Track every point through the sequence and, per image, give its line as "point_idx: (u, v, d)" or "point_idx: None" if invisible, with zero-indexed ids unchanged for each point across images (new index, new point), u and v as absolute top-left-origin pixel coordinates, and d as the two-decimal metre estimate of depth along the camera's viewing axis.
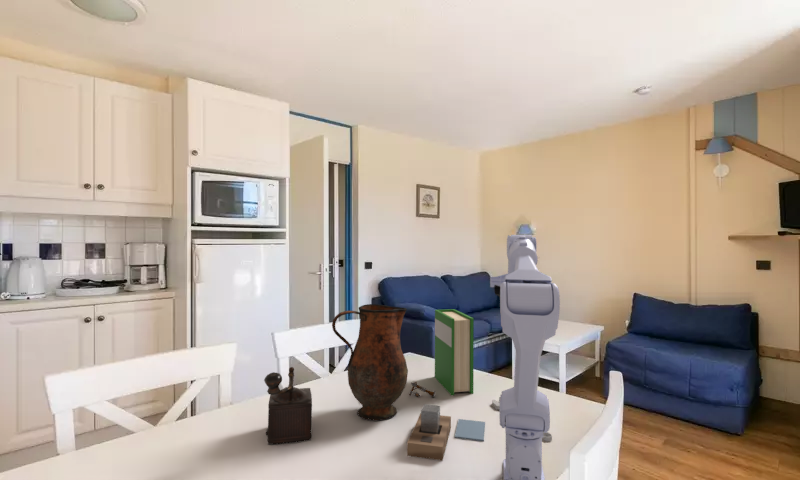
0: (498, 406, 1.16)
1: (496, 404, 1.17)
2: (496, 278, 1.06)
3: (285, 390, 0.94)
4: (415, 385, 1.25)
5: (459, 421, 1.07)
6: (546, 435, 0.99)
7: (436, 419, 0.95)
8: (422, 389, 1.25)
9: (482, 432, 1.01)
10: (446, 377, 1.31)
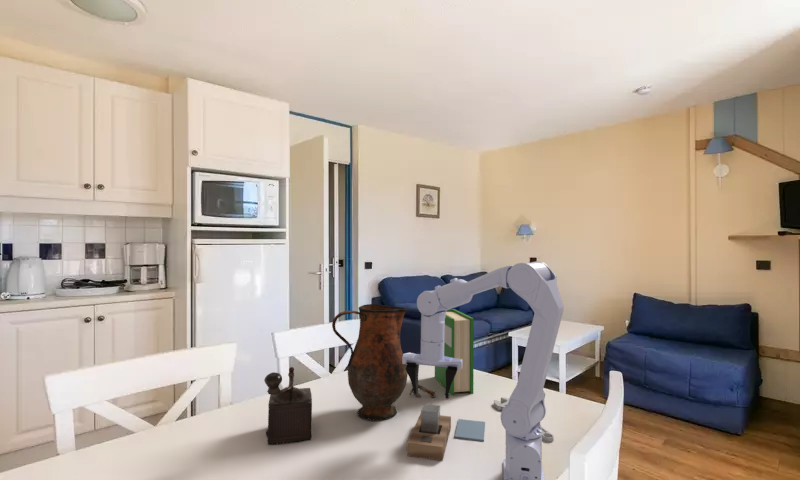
0: (499, 406, 1.15)
1: (497, 404, 1.16)
2: (410, 356, 1.00)
3: (285, 390, 0.94)
4: None
5: (459, 421, 1.07)
6: (547, 436, 0.99)
7: (436, 419, 0.95)
8: (422, 389, 1.25)
9: (482, 432, 1.01)
10: None
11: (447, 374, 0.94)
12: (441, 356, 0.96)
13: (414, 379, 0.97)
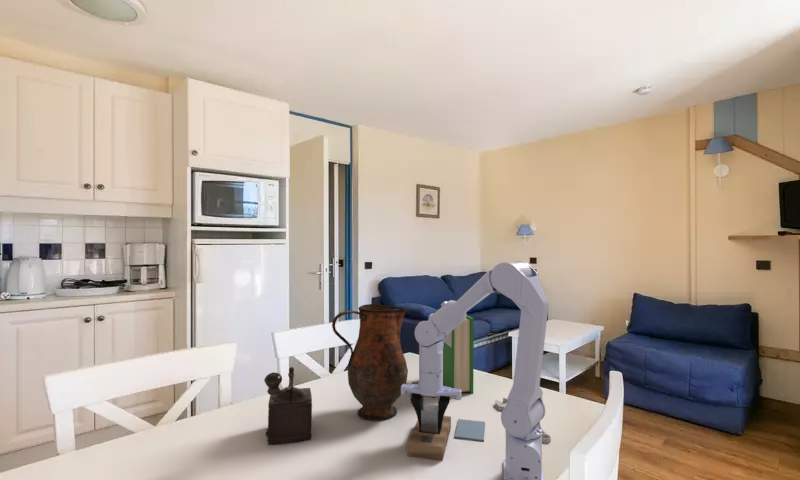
0: (500, 406, 1.15)
1: (498, 404, 1.16)
2: None
3: (285, 390, 0.94)
4: None
5: (459, 421, 1.07)
6: (545, 437, 0.99)
7: (436, 419, 0.95)
8: None
9: (482, 432, 1.01)
10: (446, 377, 1.31)
11: (439, 405, 0.94)
12: (440, 386, 0.95)
13: (419, 411, 0.96)
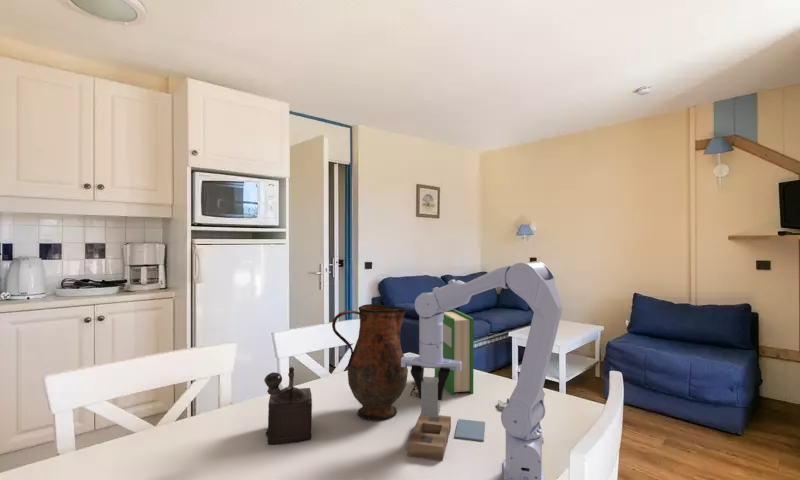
0: (501, 406, 1.15)
1: (500, 404, 1.16)
2: None
3: (285, 390, 0.94)
4: None
5: (459, 421, 1.07)
6: None
7: (436, 390, 0.95)
8: None
9: (482, 432, 1.01)
10: None
11: (440, 376, 0.94)
12: (440, 358, 0.95)
13: (419, 382, 0.96)
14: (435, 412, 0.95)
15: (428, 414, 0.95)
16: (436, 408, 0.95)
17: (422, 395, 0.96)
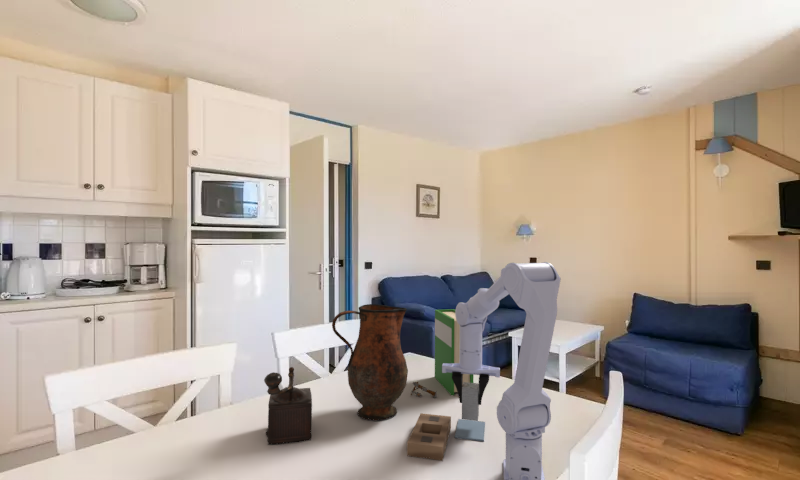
0: None
1: None
2: None
3: (285, 390, 0.94)
4: (416, 385, 1.25)
5: (459, 421, 1.07)
6: None
7: (476, 395, 1.01)
8: (423, 389, 1.25)
9: (482, 432, 1.01)
10: (446, 377, 1.31)
11: (480, 381, 1.00)
12: (480, 364, 1.01)
13: (460, 388, 1.02)
14: (475, 416, 1.01)
15: (468, 418, 1.01)
16: (476, 412, 1.01)
17: (463, 400, 1.01)
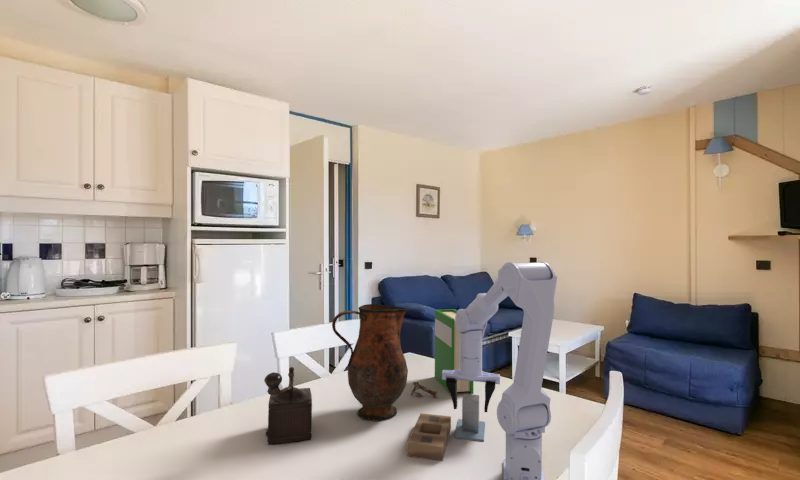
0: None
1: None
2: None
3: (285, 390, 0.94)
4: (417, 385, 1.25)
5: (459, 421, 1.07)
6: None
7: (477, 407, 1.01)
8: (424, 389, 1.25)
9: (482, 432, 1.01)
10: None
11: (486, 389, 0.99)
12: (480, 371, 1.01)
13: (454, 394, 1.02)
14: (476, 428, 1.01)
15: (469, 430, 1.01)
16: (477, 424, 1.01)
17: (463, 412, 1.01)
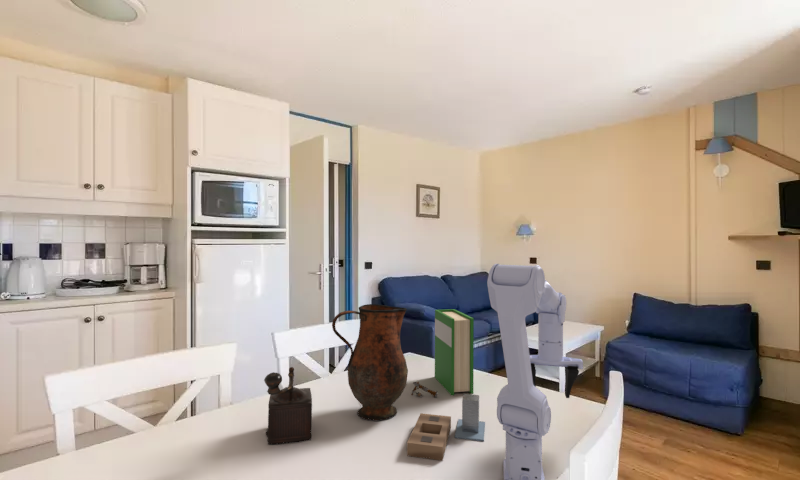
0: None
1: None
2: None
3: (285, 390, 0.94)
4: (417, 385, 1.25)
5: (459, 421, 1.07)
6: None
7: (477, 407, 1.01)
8: (424, 389, 1.25)
9: (482, 432, 1.01)
10: (446, 377, 1.31)
11: (570, 374, 0.96)
12: (562, 356, 0.97)
13: (534, 379, 0.98)
14: (476, 428, 1.01)
15: (469, 430, 1.01)
16: (477, 424, 1.01)
17: (463, 412, 1.01)
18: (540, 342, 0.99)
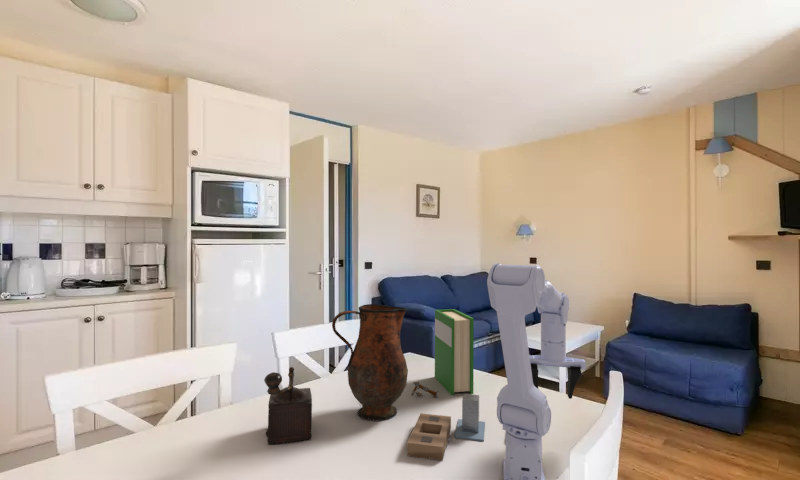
0: None
1: None
2: None
3: (285, 390, 0.94)
4: (417, 385, 1.25)
5: (459, 421, 1.07)
6: None
7: (477, 407, 1.01)
8: (424, 389, 1.25)
9: (482, 432, 1.01)
10: (446, 377, 1.31)
11: (572, 374, 0.96)
12: (564, 356, 0.97)
13: (536, 380, 0.98)
14: (476, 428, 1.01)
15: (469, 430, 1.01)
16: (477, 424, 1.01)
17: (463, 412, 1.01)
18: (542, 342, 0.99)
